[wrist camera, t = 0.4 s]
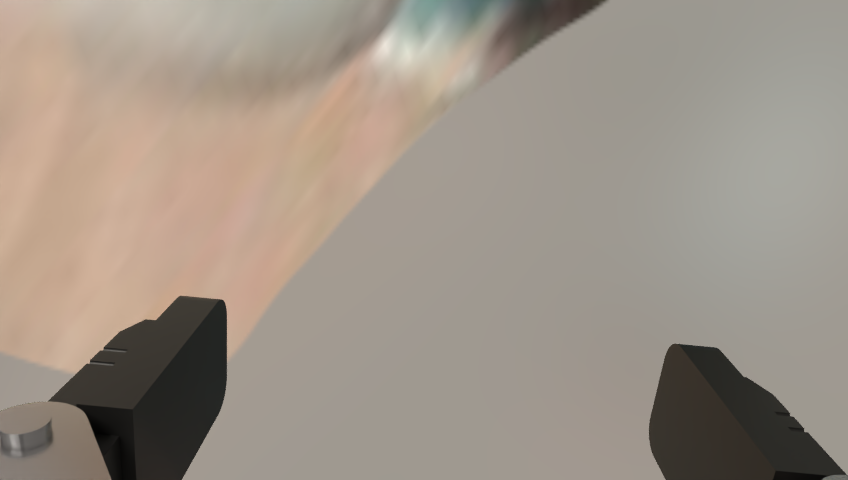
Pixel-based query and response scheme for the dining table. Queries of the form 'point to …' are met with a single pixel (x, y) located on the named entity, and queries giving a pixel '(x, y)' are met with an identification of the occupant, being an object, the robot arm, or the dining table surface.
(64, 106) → the dining table surface
